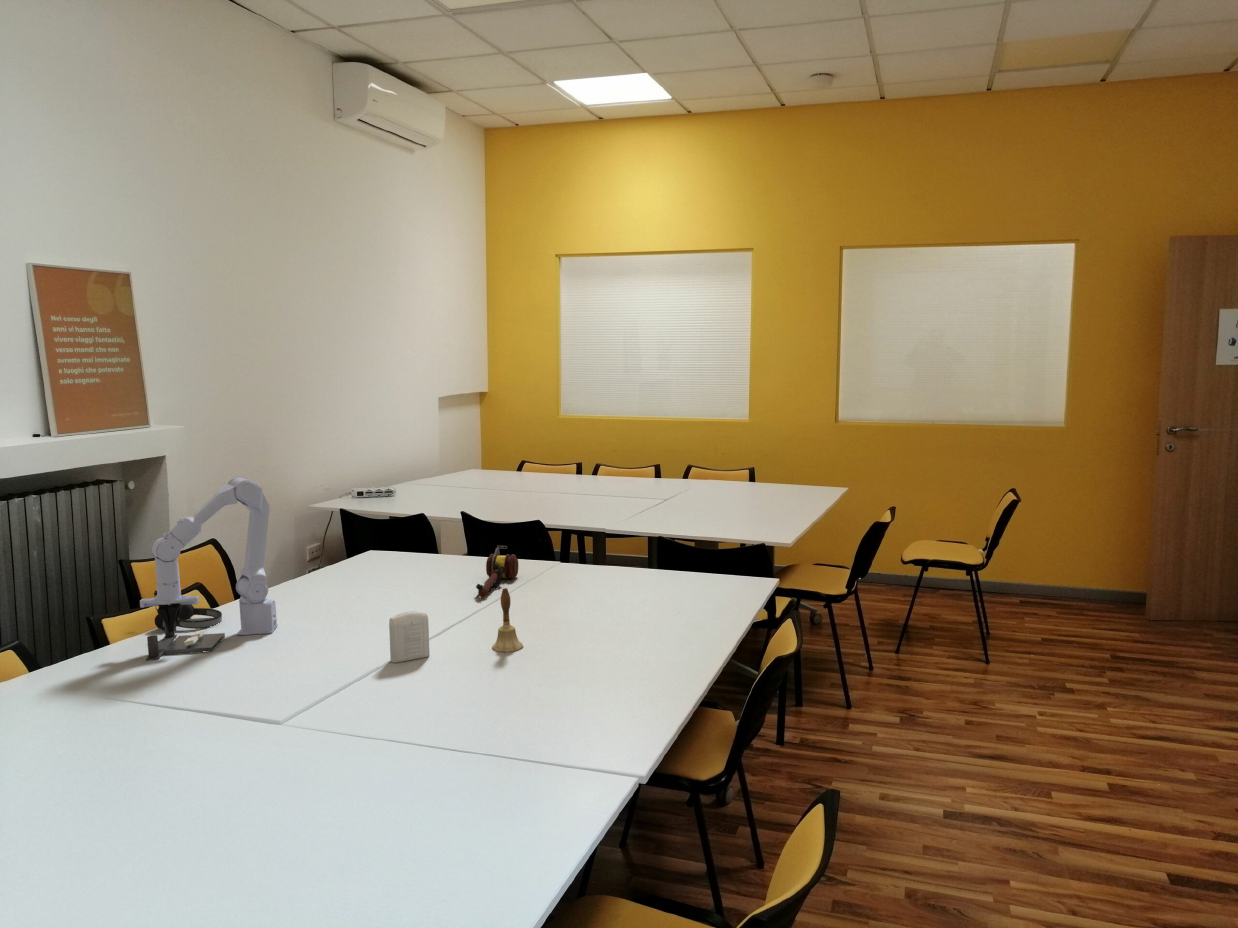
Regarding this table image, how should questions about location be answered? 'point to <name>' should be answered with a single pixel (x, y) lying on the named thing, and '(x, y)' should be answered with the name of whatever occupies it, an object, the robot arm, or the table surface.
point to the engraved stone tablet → (409, 636)
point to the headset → (188, 612)
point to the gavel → (498, 570)
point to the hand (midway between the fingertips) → (172, 631)
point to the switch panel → (202, 644)
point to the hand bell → (506, 629)
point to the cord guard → (158, 649)
